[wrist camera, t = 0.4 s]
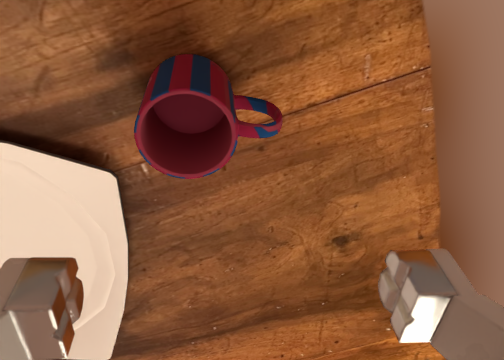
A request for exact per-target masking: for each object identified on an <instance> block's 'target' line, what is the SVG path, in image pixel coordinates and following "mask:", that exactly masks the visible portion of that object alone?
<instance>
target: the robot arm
mask: <svg viewBox="0 0 504 360" xmlns="http://www.w3.org/2000/svg"><path fill="white" fill-rule="evenodd" d="M385 263H386V265H387V268H386V269H385V270H383V271H382V272H381V274H380V277H379V281H378V292H379V296H380V300H381V302H382V304H383V307H384V308H386V309H387V310H388V311H389V312H391V313H392V316H391V318H390V323H391V325H392V328H393V330H394V332H395V334H396V337H397V339H398V341H399V343H411V342H431V343H430V344H431V345H432V346H433V347H434V348H435V349H436V350H437V351H438V352H439V353H440V354H442V355H443V356H444V357H445V358H446V359H447V360H504V307H503V306H501V305H499V304H498V303H496V302H495V301H493V300H491V299H490V298H488V297H487V296H485V295H479V294H478V293H477V291H476V290H475V289H474V287H473V286H472V284H471V283H470V281H469V280H468V279H467V277H466V276H465V274H464V273H463V271H462V270H461V269H460V267H459V266H458V264H457V263H456V261H455V260H454V259H453V257H452V256H451V254H450V253H449V252H448V251H447V250H446V249H426V250H424V249H420V250H390V251H389V253H388V254H387V256H386V259H385ZM77 271H78V265H77V261H76V259H75V258H73V257H31V258H9V259H8V260H6V261H5V262H4V264H3V265H2V267H1V269H0V360H48V359H61V358H67V357H68V354H69V351H70V348H71V344H72V341H73V338H74V335H75V332H74V329H73V325H72V324H74V323H75V322H76V321H77V320H78V319H79V318H80V315H81V312H82V308H83V300H84V291H83V284H82V281H81V280H80V279H79V278H77V277H76V274H77Z"/></svg>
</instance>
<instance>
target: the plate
mask: <svg viewBox="0 0 504 360" xmlns="http://www.w3.org/2000/svg"><path fill="white" fill-rule="evenodd" d="M31 257H73V258H75V259H76V261H77V265H78V271H77V274H76V277H77V278H79V279H80V280H81V281H82V284H83V291H84V300H83V308H82V312H81V315H80V318H79V319H78V320H77V321H76V322H75V323H74V324H72V325H73V329H74V332H75V335H74V338H73V341H72V344H71V348H70V351H69V354H68V357H67V358H61V359H80V360H108V359H110V358H111V355H112V352H113V348H114V344H115V341H116V337H117V333H118V330H119V326H120V323H121V319H122V315H123V312H124V308H125V301H126V293H127V285H128V264H129V241H128V235H127V229H126V223H125V217H124V211H123V205H122V199H121V193H120V187H119V181H118V176H117V175H116V174H115V173H114V172H113V171H111V170H110V169H106V168H103V167H99V166H96V165H92V164H89V163H85V162H81V161H78V160H74V159H71V158H67V157H63V156H60V155H56V154H53V153H49V152H46V151H42V150H38V149H35V148H31V147H28V146H24V145H20V144H17V143H13V142H9V141H3V140H0V269H1V267H2V265H3V264H4V262H5V261H6V260H8V259H9V258H31Z"/></svg>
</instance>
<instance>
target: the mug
mask: <svg viewBox="0 0 504 360" xmlns="http://www.w3.org/2000/svg"><path fill="white" fill-rule="evenodd" d="M235 109H245V110H253V111H258V112H262V113H265V114H267V115H269V116H271V117H272V118H273V119H274V122H272V123H269V124H252V123H246V122H243V121H240V120H238V118H237V116H236V111H235ZM281 126H282V114H281V111H280V110H279V108H278V107H276V106H275V105H274V104H272V103H270V102H268V101H265V100H262V99H258V98H253V97H247V96H241V95H234V94H233V91H232V86H231V83H230V81H229V79H228V76H227V75H226V74H225V72H224V71H223V70H222V69H221V68H220V67H219V66H218V65H217V64H216V63H214V62H213V61H211V60H210V59H207V58H205V57H203V56H199V55H193V54H182V55H177V56H173V57H171V58H169V59H167V60H165V61H163V62H162V63H161V64H159V65H158V67H157V68H156V69H155V70H154V71H153V73H152V74H151V76H150V79H149V81H148V84H147V87H146V91H145V94H144V97H143V100H142V103H141V106H140V109H139V112H138V115H137V118H136V121H135V127H134V136H135V141H136V145H137V147H138V149H139V152H140V153H141V155H142V156H143V158H144V159H145V160H146V161H147V162H148V163H149V164H150V165H151V166H152V167H154V168H155V169H156V170H158V171H160V172H162V173H164V174H166V175H169V176H172V177H176V178H183V179H193V178H200V177H204V176H207V175H210V174H212V173H214V172H216V171H217V170H219V169H221V168H222V167H223V166H224V165H225V164H226V163H227V162H228V161H229V159H230V158H231V157H232V155H233V153H234V151H235V148H236V145H237V139H238V136H242V137H249V138H267V137H271V136H274V135H276V134H277V133H278V132H279V131H280V129H281Z"/></svg>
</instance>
